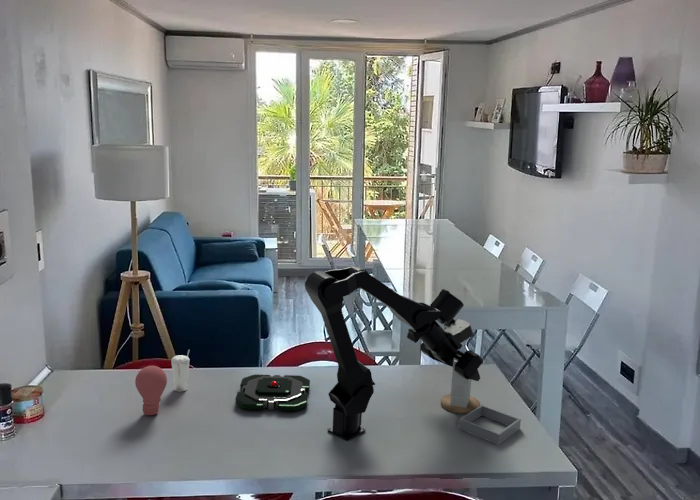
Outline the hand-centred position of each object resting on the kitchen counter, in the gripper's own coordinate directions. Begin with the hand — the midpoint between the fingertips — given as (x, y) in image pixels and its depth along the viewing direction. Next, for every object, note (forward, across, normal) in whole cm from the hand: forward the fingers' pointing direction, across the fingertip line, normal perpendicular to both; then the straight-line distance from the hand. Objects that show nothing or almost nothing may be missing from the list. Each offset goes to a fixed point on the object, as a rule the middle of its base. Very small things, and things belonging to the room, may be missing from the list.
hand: (467, 372), depth 160 cm
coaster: (+5, 0, +7) cm, 9 cm away
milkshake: (-38, +38, +51) cm, 74 cm away
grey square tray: (+4, -13, +8) cm, 16 cm away
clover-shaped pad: (-24, +24, +37) cm, 50 cm away
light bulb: (-45, +27, +58) cm, 78 cm away
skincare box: (+4, 0, +7) cm, 8 cm away
